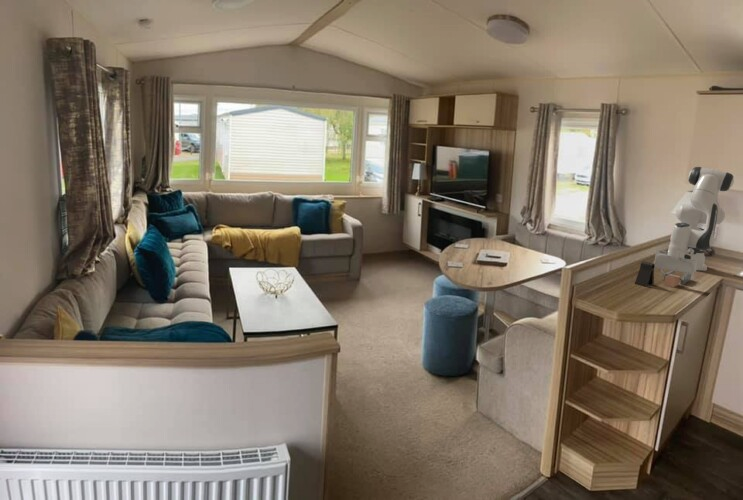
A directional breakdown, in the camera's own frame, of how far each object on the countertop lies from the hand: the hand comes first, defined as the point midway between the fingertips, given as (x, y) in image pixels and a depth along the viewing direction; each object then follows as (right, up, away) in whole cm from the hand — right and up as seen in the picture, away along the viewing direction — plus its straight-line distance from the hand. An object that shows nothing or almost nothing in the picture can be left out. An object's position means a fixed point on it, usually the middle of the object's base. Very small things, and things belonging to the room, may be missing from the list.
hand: (672, 278), depth 302 cm
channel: (+9, -2, +11) cm, 14 cm away
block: (0, -4, +1) cm, 4 cm away
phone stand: (-16, -3, -2) cm, 16 cm away
